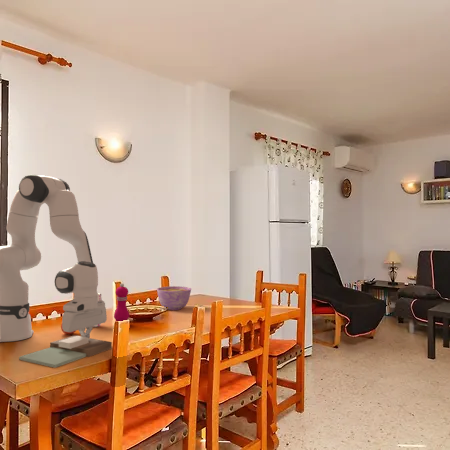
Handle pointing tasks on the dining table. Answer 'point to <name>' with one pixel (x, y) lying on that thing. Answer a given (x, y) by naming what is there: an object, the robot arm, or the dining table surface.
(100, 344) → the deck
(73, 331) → the tomato
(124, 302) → the pepper mill
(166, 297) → the bowl of food
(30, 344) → the dining table surface
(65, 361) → the mat
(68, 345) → the white rectangular block
